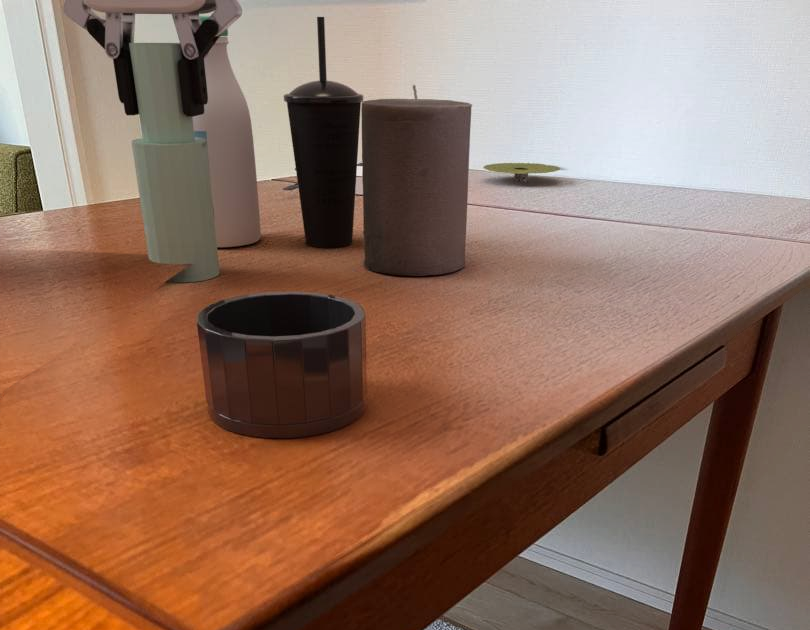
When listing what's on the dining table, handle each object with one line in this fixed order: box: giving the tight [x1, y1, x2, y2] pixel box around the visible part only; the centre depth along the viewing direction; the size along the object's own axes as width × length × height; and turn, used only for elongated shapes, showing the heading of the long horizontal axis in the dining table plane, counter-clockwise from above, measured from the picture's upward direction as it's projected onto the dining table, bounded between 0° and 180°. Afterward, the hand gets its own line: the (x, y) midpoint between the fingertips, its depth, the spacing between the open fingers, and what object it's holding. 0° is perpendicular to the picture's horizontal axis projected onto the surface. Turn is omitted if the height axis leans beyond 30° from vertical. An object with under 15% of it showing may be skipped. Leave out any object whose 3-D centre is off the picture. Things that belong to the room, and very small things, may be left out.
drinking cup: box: [283, 16, 365, 249], centre depth 82 cm, size 8×8×20 cm
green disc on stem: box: [482, 162, 561, 183], centre depth 124 cm, size 11×11×2 cm
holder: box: [196, 291, 368, 439], centre depth 48 cm, size 9×9×6 cm
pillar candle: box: [360, 84, 473, 277], centre depth 76 cm, size 10×10×15 cm
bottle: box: [129, 42, 221, 284], centre depth 71 cm, size 6×6×18 cm
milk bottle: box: [178, 15, 262, 248], centre depth 83 cm, size 8×8×20 cm
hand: (165, 111), depth 69 cm, fingers closed on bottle, 4 cm apart
